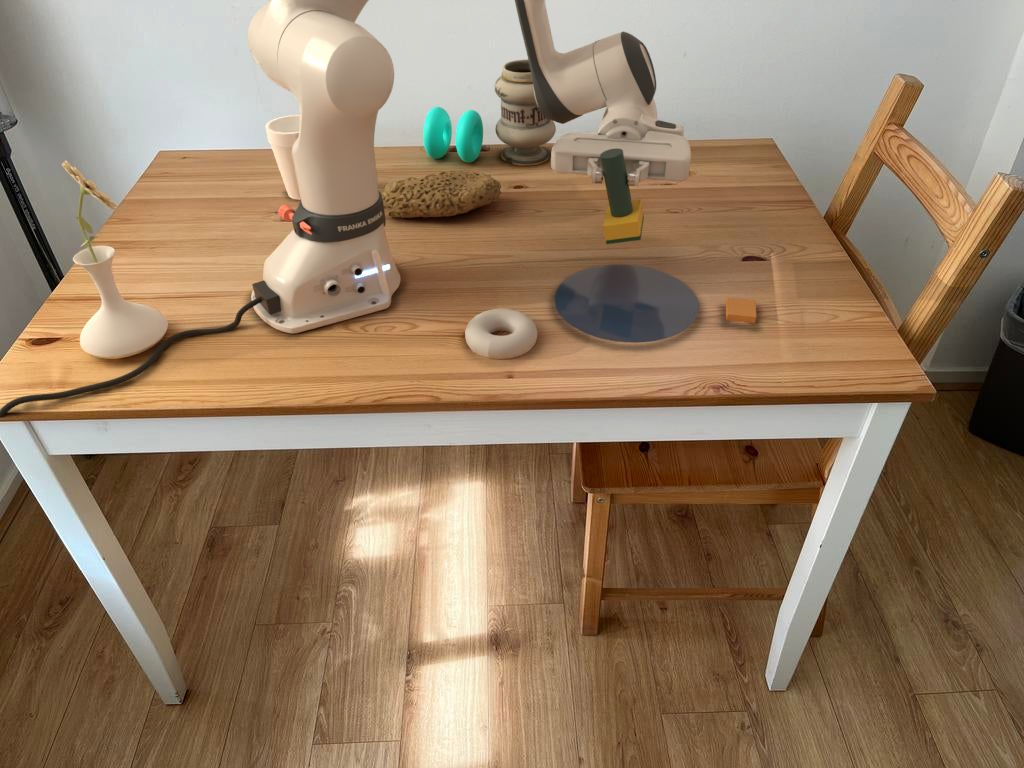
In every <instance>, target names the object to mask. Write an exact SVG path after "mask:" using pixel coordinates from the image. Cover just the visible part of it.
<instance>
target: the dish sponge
mask: <svg viewBox="0 0 1024 768" xmlns="http://www.w3.org/2000/svg"><path fill="white" fill-rule="evenodd" d="M600 159H601V164H602V169H603V174H604V176H603V181H604V185H605V190H606V194H607V195H606V196H607V200H608V203H607V205H606V210H605V213H604V219H603V223H602V230H603V234H604V238H605V239H604V240H605V244H606V245H611V244H619V243H627V242H633V241H634V242H635V241H641V240H642V235H643V226H644V219H645V215H644V210H643V209H644V208H643V204H642V199H639V198H638V199H634V200H633V199H632V196H631V190H630V186H628V177H627V171H626V166H625V160H624V154H623V150H622V149H618V148H615V149H610V150H607V151H604V152H603V153H601V155H600Z"/></svg>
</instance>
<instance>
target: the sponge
mask: <svg viewBox="0 0 1024 768" xmlns="http://www.w3.org/2000/svg"><path fill="white" fill-rule="evenodd" d="M501 188H502V185H501V182H500V181H499V180H497V179H495V178H494V177H491V175H490V174H488V173H484V172H477V171H467V170H461V171H458V170H448V171H443V170H442V171H439V172H436V173H430V174H428V175H425V176H424V177H419V178H417V177H415V176H411V177H406V178H405V179H400V180H394V181H389V182H388V183H387V184H386V185H385V186H384V192H383V193H381V194H382V198H383V204H384V210H385V214H386V215H387V216H388V217H393V218H403V219H404V218H406V219H407V218H408V219H412V218H421V217H422V218H430V217H431V218H439V217H441V218H442V217H455V216H456V215H461V214H466V213H469V212H470V211H473V210H475V209H478V208H481V207H485V206H487V205H490V204H491V203H492V202H494V201H496V200H497V199H498V198H499V197H500V195H502V191H501Z"/></svg>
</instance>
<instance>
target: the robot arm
mask: <svg viewBox="0 0 1024 768" xmlns="http://www.w3.org/2000/svg"><path fill="white" fill-rule="evenodd" d="M369 1H370V0H269V1H268V2H267V3H265V5H263V6H262V7H260V8H259V10H257V11H256V12H255V14H254V15H253V17H252V19H251V21H250V23H249V26H248V29H247V30H248V31H247V44H248V49H249V52H250V55H251V56H252V58H253V60H254V61H255V63H256V64H257V66H258V67H259V68H260V70H261V71H262V72H263V73H264V74H265V76H266V77H267V78H268V79H269V80H270V81H272V82H273V83H274V84H275V85H276V86H277V85H278V86H279V87H281V88H282V89H285V90H286V91H288V92H290V93H292V94H293V96H294V97H295V99H296V101H297V105H298V110H299V115H300V127H299V137H298V139H297V140H296V141H295V143H294V145H293V148H292V156H293V161H294V167H295V172H296V177H297V182H298V187H299V192H300V197H301V199H300V200H299V202H298V205H297V208H296V210H295V209H294V208H292V206H289V205H288V204H282V205H280V206H279V208H278V209H277V214H278V216H279V218H281V219H283V221H284V222H286V223H292V227H293V229H292V230H291V231H290V232H289V234H288V235H287V236H286V237H285V238H284V239H283V240H282V241H281V242H280V244H279V245H278V246H277V247H276V248H275V249H273V251H272V253H270V254H269V256H268V257H266V259H265V260H264V263H263V267H262V269H263V270H262V280H260V281H257V282H254V283H252V284H251V286H252V292H251V294H250V295H251V296H250V298H251V301H249V302H248V303H246V304H245V305H243V306H242V307H241V308H240V309H239V310H237V312H236V315H235V319H234V320H233V322H231V323H230V324H227V325H225V326H222V327H217V328H199V329H198V328H196V329H187V330H184V331H180V332H177V333H175V334H173V335H171V336H169V337H167V338H166V339H165V340H164V341H162V342H161V343H160V344H159V345H158V346H157V347H156V348H155V349H154V351H153V352H152V353H151V355H149V357H148V358H147V359H146V361H145V362H143V363H142V364H141V365H140V366H138V367H137V368H135V369H133V370H132V371H129V372H127V373H125V374H123V375H121V376H118V377H115V378H113V379H110V380H106V381H102V382H97V383H93V384H90V385H84V386H81V387H76V388H72V389H70V390H64V391H58V392H52V393H51V392H50V393H38V394H30V395H25V396H24V395H23V396H20V397H16V398H14V399H12V400H10V401H8V402H6V404H4V405H3V406H2V407H1V408H0V419H1V418H3V417H5V416H6V414H7V413H8V412H9V411H10V410H12V409H14V408H15V407H17V406H19V405H22V404H26V403H32V402H33V403H34V402H40V401H54V400H61V399H66V398H71V397H74V396H78V395H81V394H82V395H83V394H87V393H90V392H94V391H95V392H96V391H99V390H104V389H107V388H110V387H115V386H117V385H120V384H122V383H125V382H127V381H130V380H131V379H134V378H136V377H138V376H139V375H141V374H142V373H144V372H146V371H147V370H148V369H149V368H150V367H151V366H152V365H153V364H154V362H155V361H156V360H157V359H158V357H159V356H160V355H161V353H163V351H164V350H165V349H166V348H167V347H169V346H170V345H171V344H173V343H174V342H176V341H178V340H180V339H181V340H182V339H183V338H186V337H192V336H205V335H214V334H221V333H222V334H223V333H227V332H230V331H232V330H234V329H236V328H237V327H238V326H239V325H240V324H241V321H242V318H243V315H245V313H246V312H248V311H249V310H251V309H252V308H253V310H254V312H255V313H256V314H257V316H258V317H259V318H260V319H261V320H262V321H263V322H265V324H267V325H269V326H270V327H271V328H273V329H275V330H277V331H280V332H283V333H287V334H291V335H292V334H293V335H294V334H298V333H302V332H306V331H310V330H314V329H317V328H320V327H325V326H328V325H332V324H336V323H340V322H343V321H347V320H350V319H354V318H357V317H361V316H365V315H368V314H372V313H376V312H380V311H383V310H386V309H389V307H390V306H391V303H392V296H393V295H394V294H395V292H396V291H397V290H398V289H399V287H400V284H401V274H400V272H399V270H398V268H397V266H396V264H395V261H394V257H393V255H392V252H391V249H390V244H389V242H388V238H387V237H388V236H387V233H386V229H385V227H386V223H387V222H386V212H385V210H384V204H383V198H382V194H383V193H382V192H381V191H380V190H379V181H378V173H377V165H376V163H377V162H376V154H375V132H376V125H377V119H378V113H379V111H380V110H381V109H382V108H383V107H384V106H385V105H386V103H387V102H388V100H389V98H390V96H391V94H392V91H393V89H394V85H395V84H394V82H395V68H394V67H395V66H394V63H393V59H392V57H391V54H390V53H389V51H388V49H387V48H386V47H385V46H384V45H383V44H382V43H381V42H380V40H378V39H377V38H376V37H375V36H374V34H372V33H370V32H369V31H368V30H367V29H366V28H364V27H363V26H362V25H360V24H358V23H356V21H357V20H358V18H359V16H360V14H361V12H362V11H363V9H364V8H365V7H366V6H367V4H368V2H369ZM514 3H515V4H514V5H515V7H516V14H517V17H518V22H519V26H520V30H521V35H522V39H523V43H524V48H525V51H526V56H527V59H528V60H529V65H530V69H531V75H532V81H533V89H534V96H535V100H536V103H537V106H538V108H539V110H540V112H541V114H542V115H544V116H545V117H547V118H549V119H551V120H553V121H554V123H559V124H561V125H564V124H567V123H569V122H571V121H573V120H575V119H577V118H581V117H582V116H584V115H586V114H589V113H592V112H595V111H598V110H601V109H604V108H605V110H604V113H603V115H602V118H601V122H600V124H599V127H598V131H597V133H596V134H593V133H579V132H578V133H577V132H576V133H575V132H574V133H573V132H571V133H565V134H563V135H561V136H560V137H559V138H557V139H556V140H555V143H554V144H553V145H552V147H551V151H550V168H551V170H552V171H553V172H555V173H557V174H571V175H582V176H583V175H584V176H589V177H590V178H591V183H592V184H603V181H604V174H603V169H602V164H601V159H600V155H601V153H603V152H604V151H607V150H610V149H615V148H618V149H622V150H623V154H624V160H625V166H626V171H627V177H628V186H629V187H639V185H640V183H642V182H643V181H646V180H652V181H664V182H665V181H666V182H681V183H682V182H685V181H687V180H688V179H689V176H690V171H691V162H692V151H691V146H690V143H689V140H688V139H687V138H686V137H685V135H684V132H685V129H684V126H682V125H680V124H678V123H672V122H668V121H664V120H660V119H658V109H657V105H656V100H655V98H654V97H655V94H656V92H657V78H656V73H655V67H654V64H653V61H652V58H651V55H650V52H649V50H648V48H647V46H646V45H645V44H644V42H643V41H641V40H640V39H639V38H637V37H636V36H635V35H634V34H631V33H629V32H626V31H621V32H617V33H614V34H611V35H609V36H606V37H603V38H601V39H598V40H595V41H594V42H592V43H591V42H590V43H589V44H586V45H584V46H581V47H578V48H575V49H573V50H569V51H566V52H559V51H557V50H556V47H555V45H554V39H553V35H552V34H553V33H552V29H551V24H550V20H549V16H548V11H547V4H546V0H514Z"/></svg>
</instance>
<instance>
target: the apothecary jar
mask: <svg viewBox="0 0 1024 768" xmlns="http://www.w3.org/2000/svg"><path fill="white" fill-rule="evenodd" d="M494 92H495V94H496V96H497V97H498V98H499V99H500V118H499V119H498V121H497V123H496V124H495V134H496V137H497V138H498V139H499V140H500V141H501V142H502V143H504V144H505V145H507V146H508V147H506V148H505V149H503V150H502V152H501V155H500V157H501V159H502V160H503V161H504V162H506V163H511V164H512V165H514V166H519V167H520V166H521V167H531V166H532V167H533V166H538V165H541V164H544V163H545V162H547V161H548V160H549V159H550V152H549V151H548V150H547V149H546V148H544V147H543V145H546V144H548V143H549V142H550V141H551V140H552V139H553V138H554V136H555V135H556V131H557V128H556V124H555V123H556V122H555V121H553V120H551V119H549V118H547V117H545V116H544V115H542V114H541V112H540V110H539V108H538V106H537V103H536V100H535V96H534V89H533V81H532V75H531V69H530V65H529V60H528V58H526V59H516V60H512V61H508V62H505V63H504V64H503V66H502V72H501V75H500V76H498V78H497V79H496V81H495V84H494Z"/></svg>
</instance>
